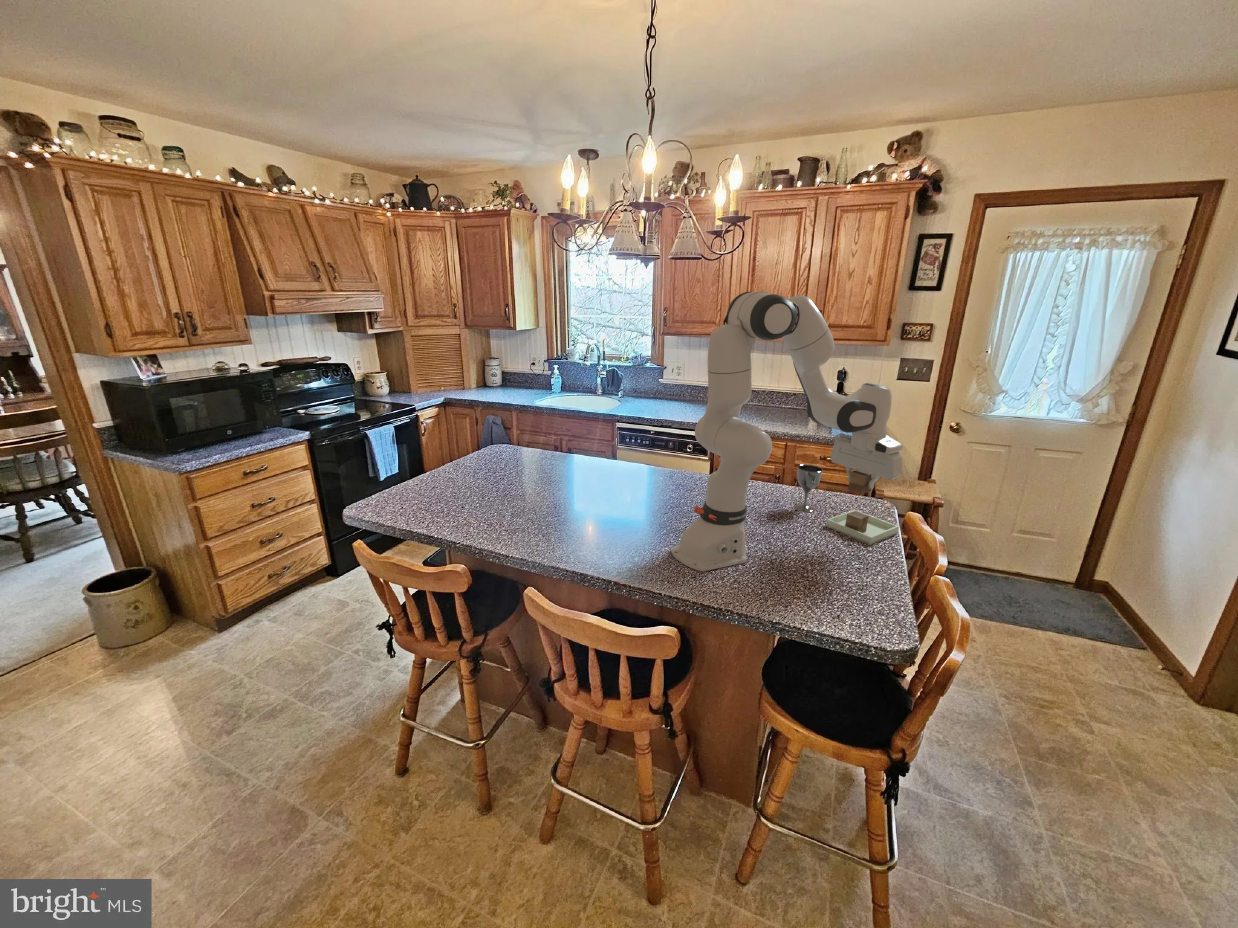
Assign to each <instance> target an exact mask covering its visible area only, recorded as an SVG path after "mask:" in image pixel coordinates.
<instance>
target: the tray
mask: <svg viewBox="0 0 1238 928" xmlns="http://www.w3.org/2000/svg"><path fill="white" fill-rule="evenodd" d="M854 511H857V512H860V513H863V514H865V515H868V516H869V518H868V523H867V528H866V532H864V533H861V532H859V531H856V530H854V529H851V528H849V527H846V526H845V524H846V518H847V514H848V513H851V512H854ZM825 527H827V528H829V529H831V530H834V531H836V532H838V533H840V534H843V535H845V536H848V537H849V538H852V539H855V540H856V541H859V542H861V543H864V544H866V545H869V546H872V545H874V544H876V543H878V542H881V541H883V540H886V539H889V538H891V537H893V536H896V535H897V534H898V533H899V528H900V526H899V525H897V524H894V523H892V522H889V521H887V520H883V519H880V518H878V517H875V516H872V515H869V514H868V513H865V512H862V511H859V510H857V509H853V510H851V511H850V510H849V511H847V512H844V513H841V514H839V515H836V516H833V517H830V518H828V519H826V524H825Z"/></svg>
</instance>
